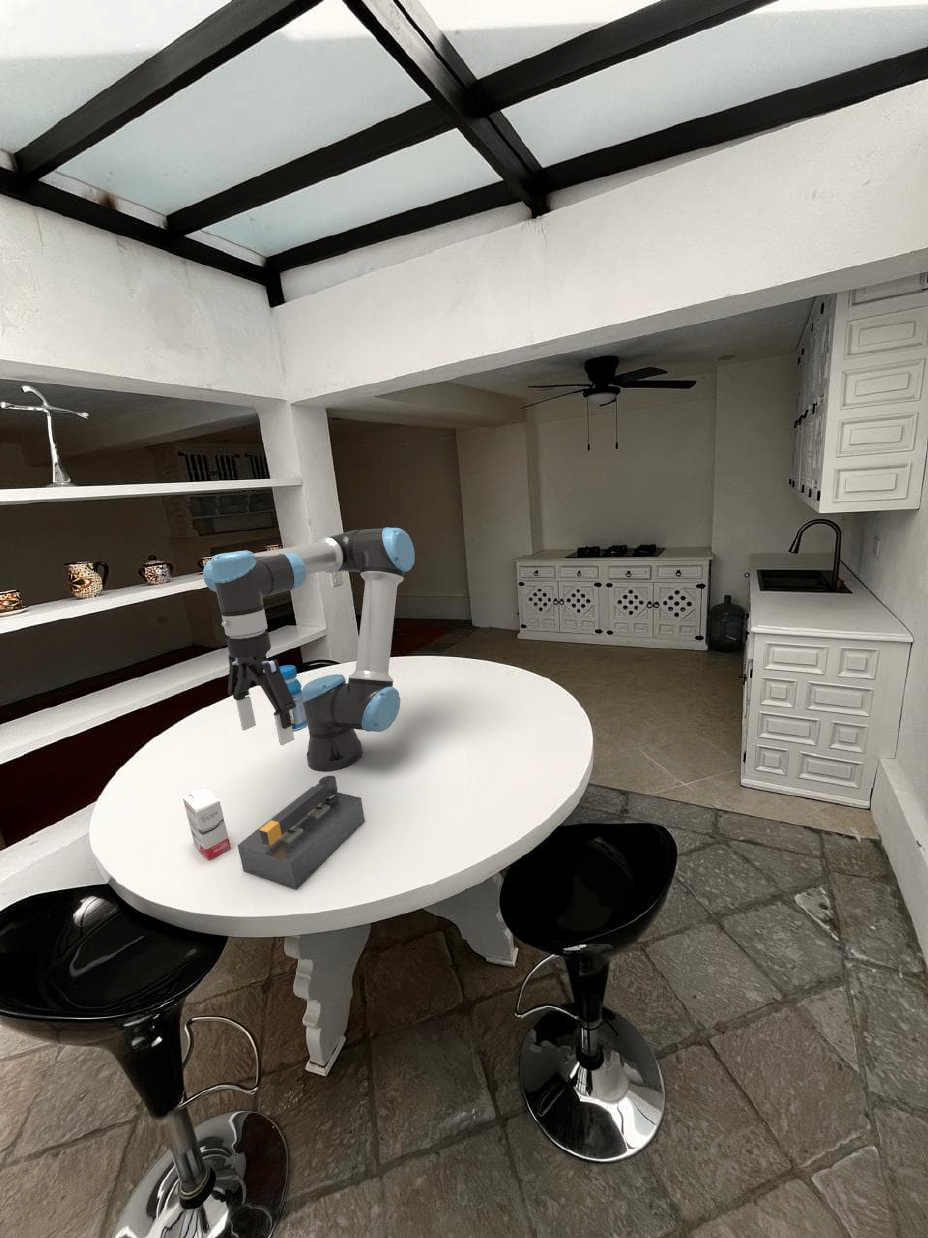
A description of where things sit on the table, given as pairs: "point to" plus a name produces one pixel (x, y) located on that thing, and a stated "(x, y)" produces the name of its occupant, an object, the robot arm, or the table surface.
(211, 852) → the ink box
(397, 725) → the table surface
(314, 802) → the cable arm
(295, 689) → the beverage bottle
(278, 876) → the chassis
